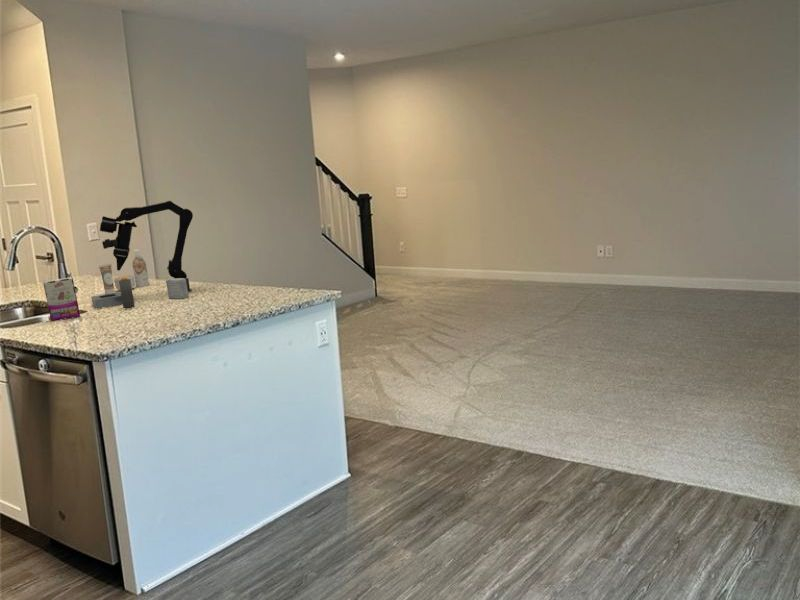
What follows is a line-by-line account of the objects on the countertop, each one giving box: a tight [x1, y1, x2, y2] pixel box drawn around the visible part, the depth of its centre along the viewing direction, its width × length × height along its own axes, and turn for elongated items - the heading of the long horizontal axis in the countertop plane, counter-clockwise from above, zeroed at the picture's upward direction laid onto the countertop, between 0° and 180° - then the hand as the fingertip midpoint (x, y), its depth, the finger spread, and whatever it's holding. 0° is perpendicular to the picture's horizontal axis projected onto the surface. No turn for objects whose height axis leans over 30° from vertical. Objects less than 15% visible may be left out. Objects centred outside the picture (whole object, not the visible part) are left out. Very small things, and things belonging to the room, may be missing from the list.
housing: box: [90, 291, 123, 309], centre depth 309 cm, size 12×12×4 cm
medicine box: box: [165, 277, 189, 300], centre depth 310 cm, size 8×4×9 cm, turn 65°
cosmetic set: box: [98, 249, 150, 295], centre depth 345 cm, size 25×9×19 cm, turn 144°
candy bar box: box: [42, 276, 81, 322], centre depth 285 cm, size 11×5×16 cm, turn 117°
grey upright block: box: [119, 275, 136, 310], centre depth 296 cm, size 5×5×14 cm
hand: (118, 269), depth 314 cm, fingers open, 9 cm apart
